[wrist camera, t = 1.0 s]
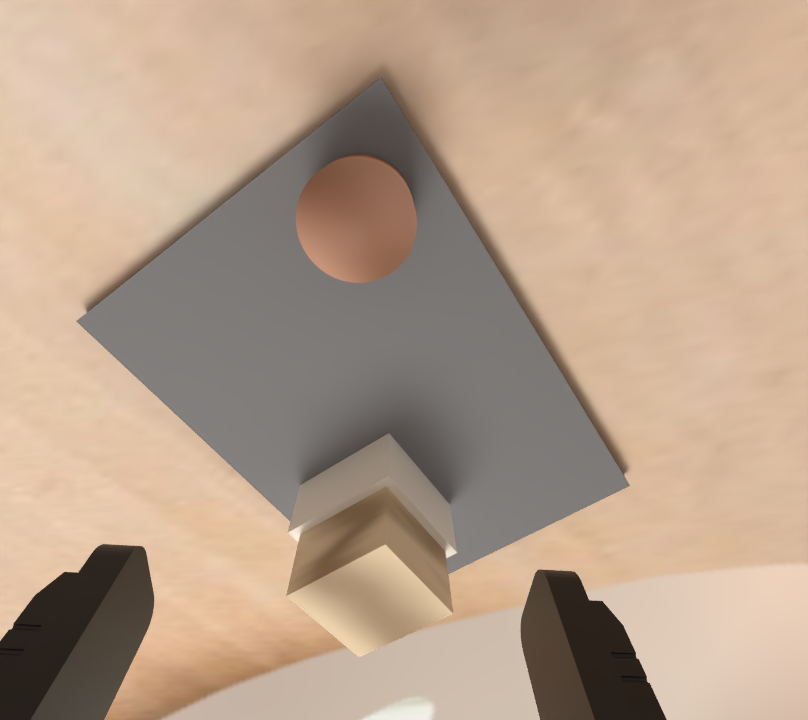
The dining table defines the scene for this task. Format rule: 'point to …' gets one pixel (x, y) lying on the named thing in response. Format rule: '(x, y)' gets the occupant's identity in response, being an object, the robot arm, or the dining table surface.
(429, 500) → the tower base block
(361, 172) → the terracotta cylinder
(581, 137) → the dining table surface
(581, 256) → the dining table surface
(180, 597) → the dining table surface
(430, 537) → the tower top block
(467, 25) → the dining table surface
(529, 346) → the mat
